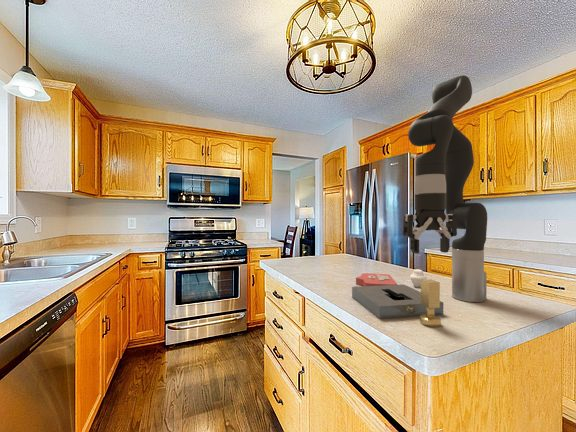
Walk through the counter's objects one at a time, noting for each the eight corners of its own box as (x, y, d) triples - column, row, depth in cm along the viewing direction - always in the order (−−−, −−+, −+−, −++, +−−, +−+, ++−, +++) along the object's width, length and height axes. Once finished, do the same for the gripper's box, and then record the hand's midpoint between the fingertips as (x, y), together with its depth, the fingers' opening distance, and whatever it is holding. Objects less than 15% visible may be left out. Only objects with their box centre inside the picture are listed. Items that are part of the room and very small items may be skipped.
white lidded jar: (420, 283, 112) (420, 267, 112) (430, 287, 106) (430, 270, 106) (406, 284, 111) (406, 267, 111) (415, 288, 105) (415, 270, 105)
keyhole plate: (403, 294, 98) (403, 284, 98) (443, 314, 78) (443, 302, 78) (352, 297, 95) (352, 286, 95) (379, 319, 75) (379, 306, 75)
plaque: (354, 271, 121) (389, 272, 118) (354, 279, 121) (389, 281, 118) (357, 281, 104) (398, 283, 101) (357, 291, 104) (398, 293, 101)
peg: (432, 319, 75) (432, 278, 75) (445, 326, 70) (445, 283, 70) (415, 320, 74) (415, 279, 74) (427, 328, 69) (427, 283, 69)
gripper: (443, 193, 76) (443, 250, 77) (397, 193, 74) (397, 251, 75) (464, 191, 69) (464, 254, 69) (414, 191, 67) (414, 255, 67)
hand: (429, 252), depth 72 cm, fingers open, 8 cm apart
